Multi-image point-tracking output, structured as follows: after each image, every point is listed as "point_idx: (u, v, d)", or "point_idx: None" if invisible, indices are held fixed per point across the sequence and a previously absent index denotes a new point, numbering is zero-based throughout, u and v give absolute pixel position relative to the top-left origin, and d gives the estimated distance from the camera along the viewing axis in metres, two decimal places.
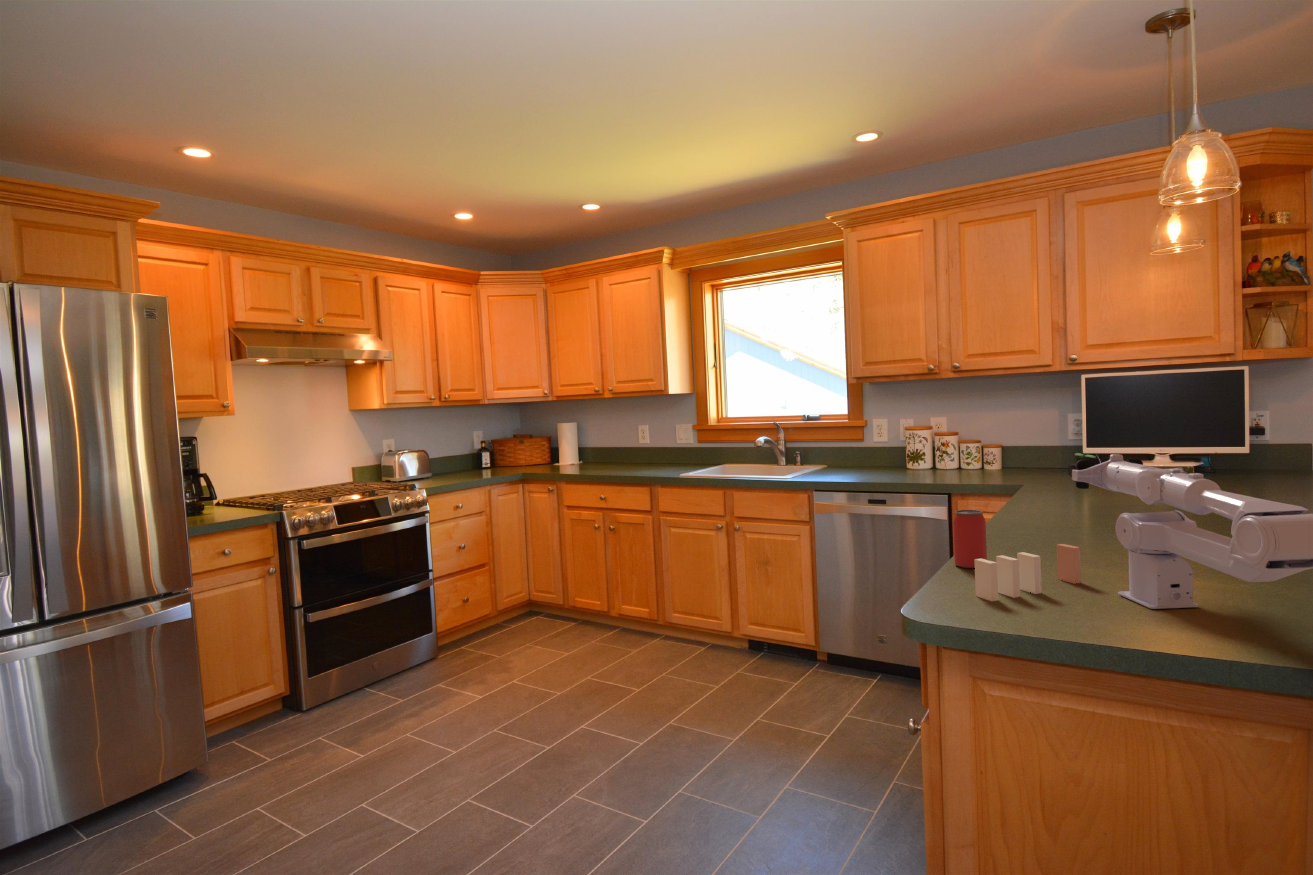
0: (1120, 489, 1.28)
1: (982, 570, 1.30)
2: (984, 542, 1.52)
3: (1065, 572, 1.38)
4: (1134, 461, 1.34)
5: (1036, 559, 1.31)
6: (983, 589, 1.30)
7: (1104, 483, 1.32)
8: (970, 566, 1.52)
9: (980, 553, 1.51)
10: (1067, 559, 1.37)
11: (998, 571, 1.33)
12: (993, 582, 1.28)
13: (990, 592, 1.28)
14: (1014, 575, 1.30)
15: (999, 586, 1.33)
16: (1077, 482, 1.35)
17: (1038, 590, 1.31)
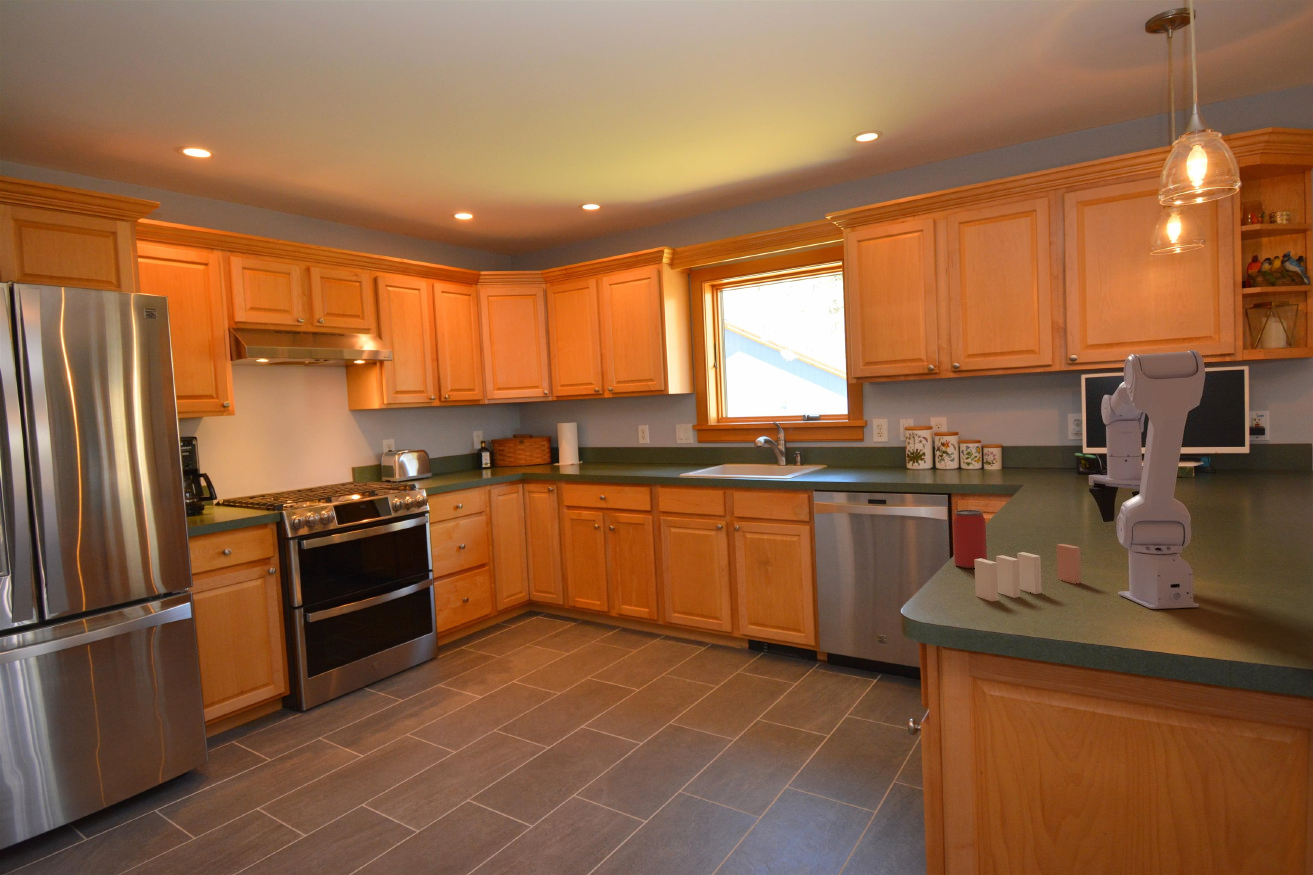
0: (1113, 454, 1.37)
1: (982, 570, 1.30)
2: (984, 542, 1.52)
3: (1065, 572, 1.38)
4: None
5: (1036, 559, 1.31)
6: (983, 589, 1.30)
7: None
8: (970, 566, 1.52)
9: (980, 553, 1.51)
10: (1067, 559, 1.37)
11: (998, 571, 1.33)
12: (993, 582, 1.28)
13: (990, 592, 1.28)
14: (1014, 575, 1.30)
15: (999, 586, 1.33)
16: (1092, 487, 1.44)
17: (1038, 590, 1.31)
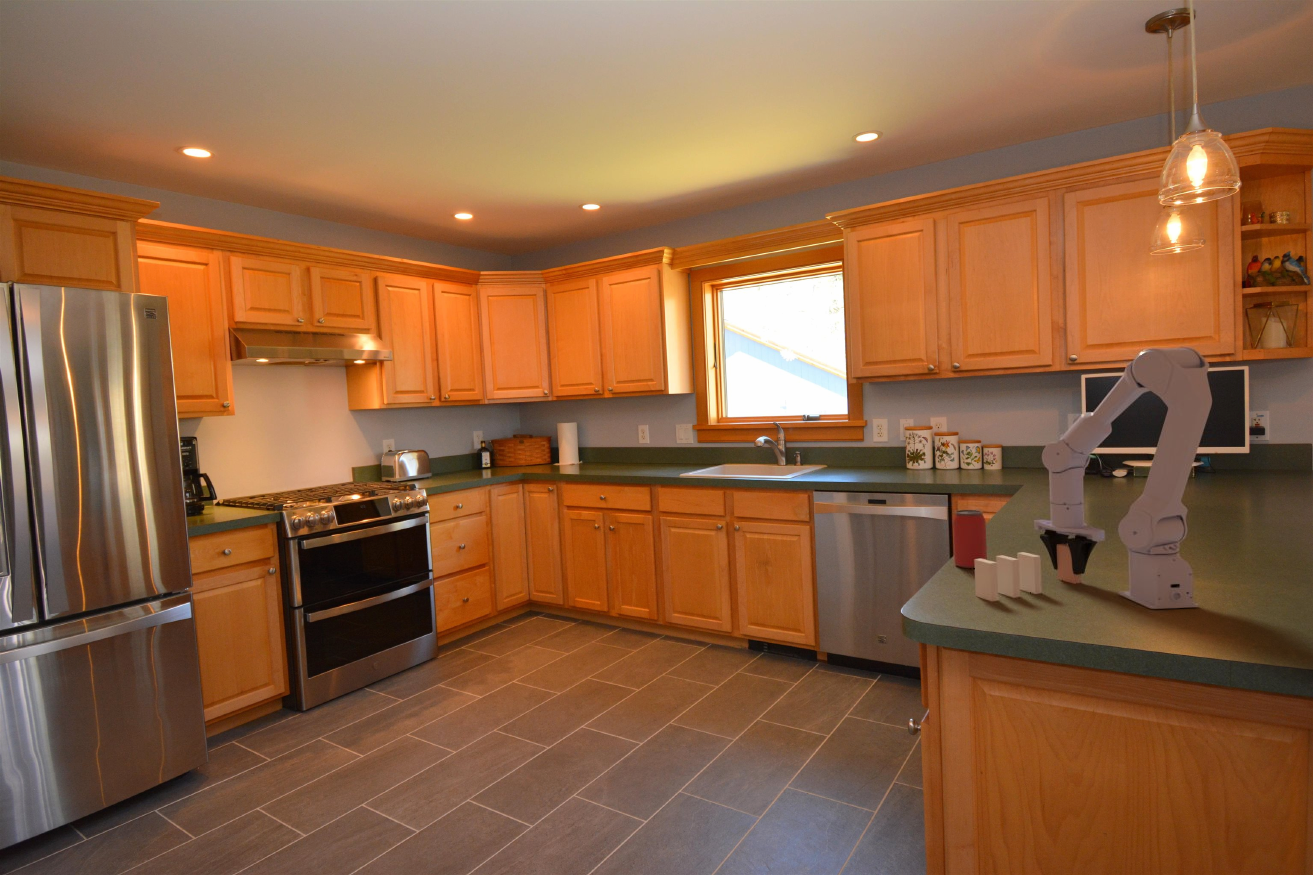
0: (1067, 502, 1.35)
1: (982, 570, 1.30)
2: (984, 542, 1.52)
3: (1065, 572, 1.38)
4: None
5: (1036, 559, 1.31)
6: (983, 589, 1.30)
7: None
8: (970, 566, 1.52)
9: (980, 553, 1.51)
10: (1067, 559, 1.37)
11: (998, 571, 1.33)
12: (993, 582, 1.28)
13: (990, 592, 1.28)
14: (1014, 575, 1.30)
15: (999, 586, 1.33)
16: (1043, 534, 1.42)
17: (1038, 590, 1.31)
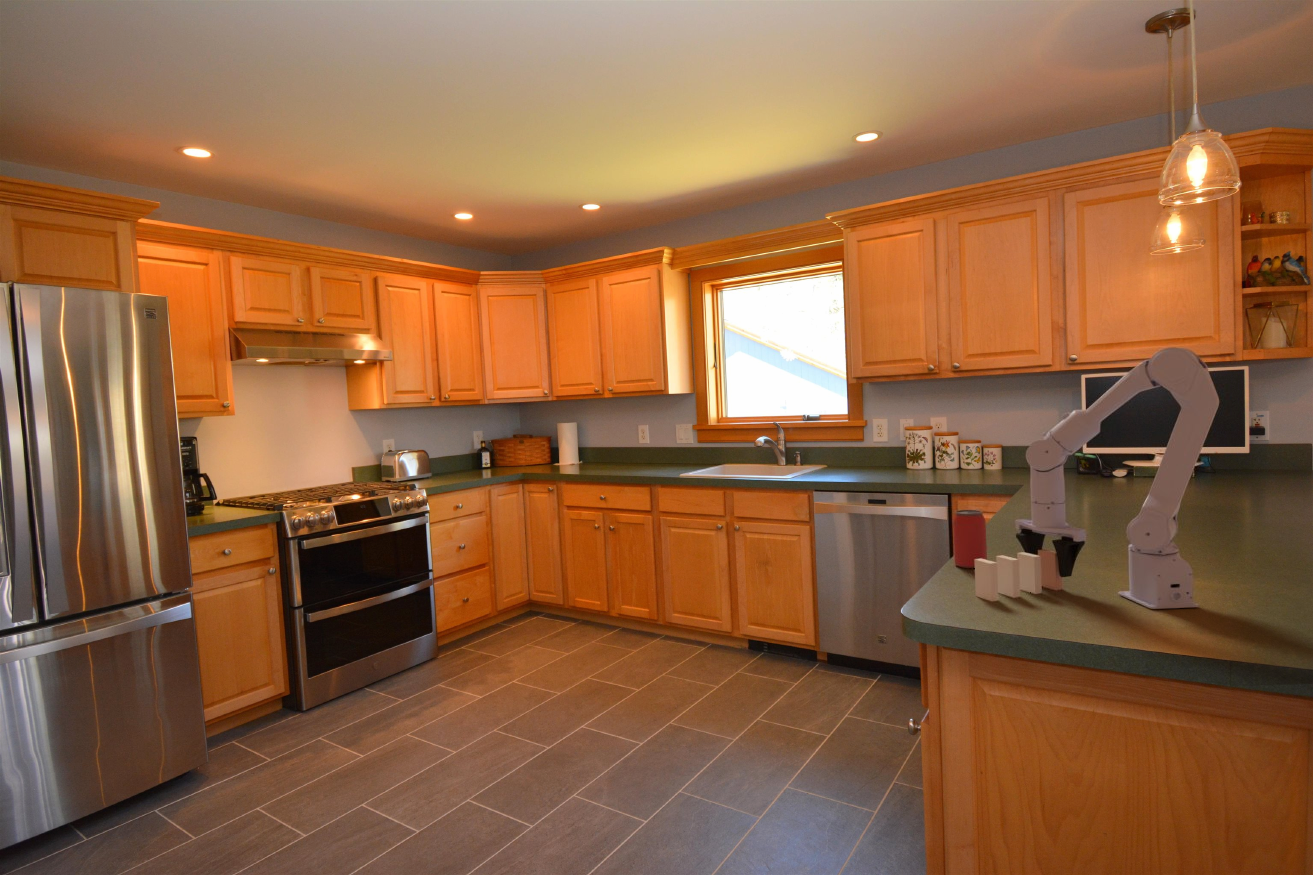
0: (1055, 501, 1.31)
1: (982, 570, 1.30)
2: (984, 542, 1.52)
3: (1046, 578, 1.35)
4: None
5: (1036, 559, 1.31)
6: (983, 589, 1.30)
7: None
8: (970, 566, 1.52)
9: (980, 553, 1.51)
10: (1048, 565, 1.34)
11: (998, 571, 1.33)
12: (993, 582, 1.28)
13: (990, 592, 1.28)
14: (1014, 575, 1.30)
15: (999, 586, 1.33)
16: (1019, 533, 1.39)
17: (1038, 590, 1.31)
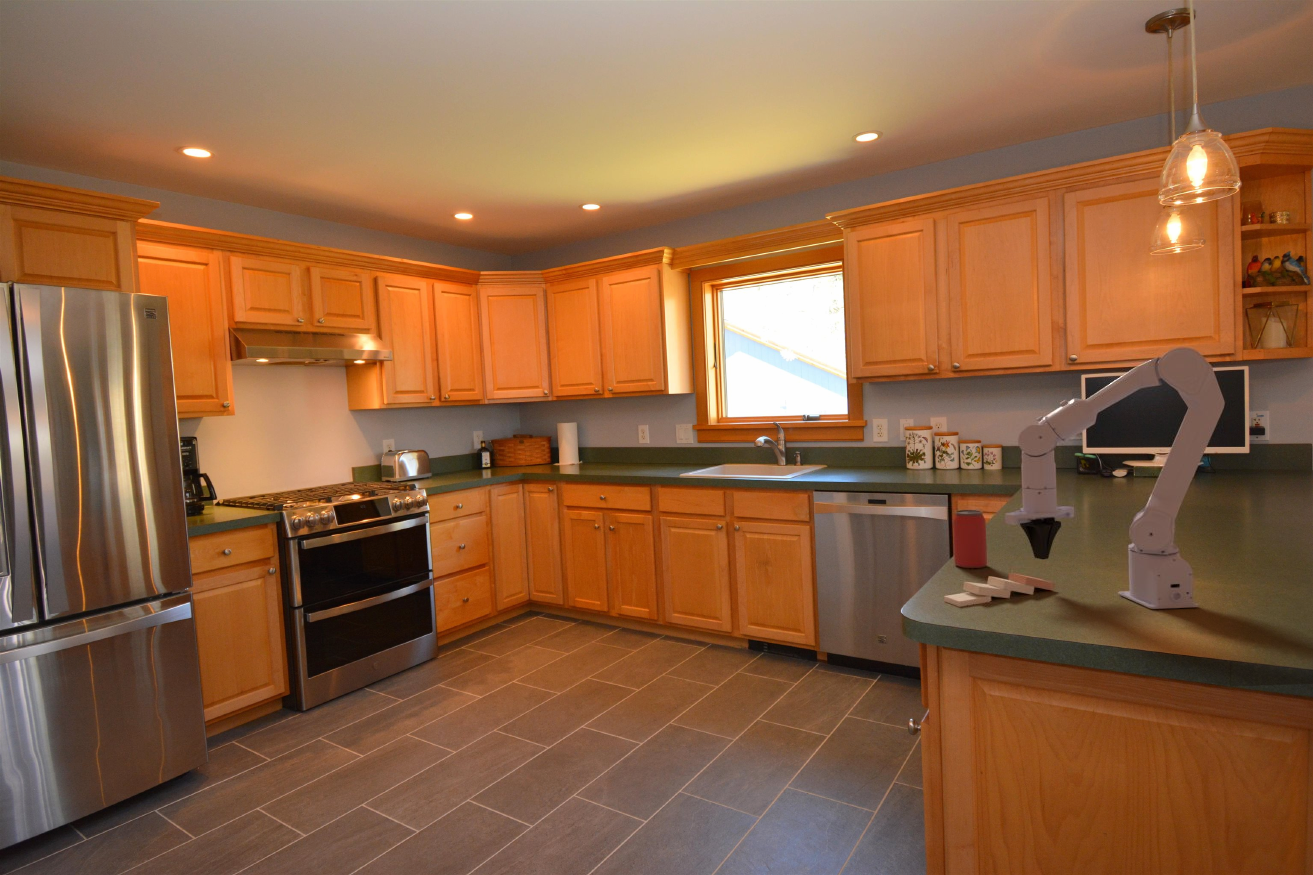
0: (1047, 486, 1.30)
1: None
2: (984, 542, 1.52)
3: None
4: None
5: (1006, 586, 1.29)
6: None
7: (1035, 510, 1.31)
8: (970, 566, 1.52)
9: (980, 553, 1.51)
10: None
11: None
12: (975, 603, 1.27)
13: None
14: (991, 593, 1.28)
15: None
16: (1036, 525, 1.31)
17: (1031, 590, 1.31)
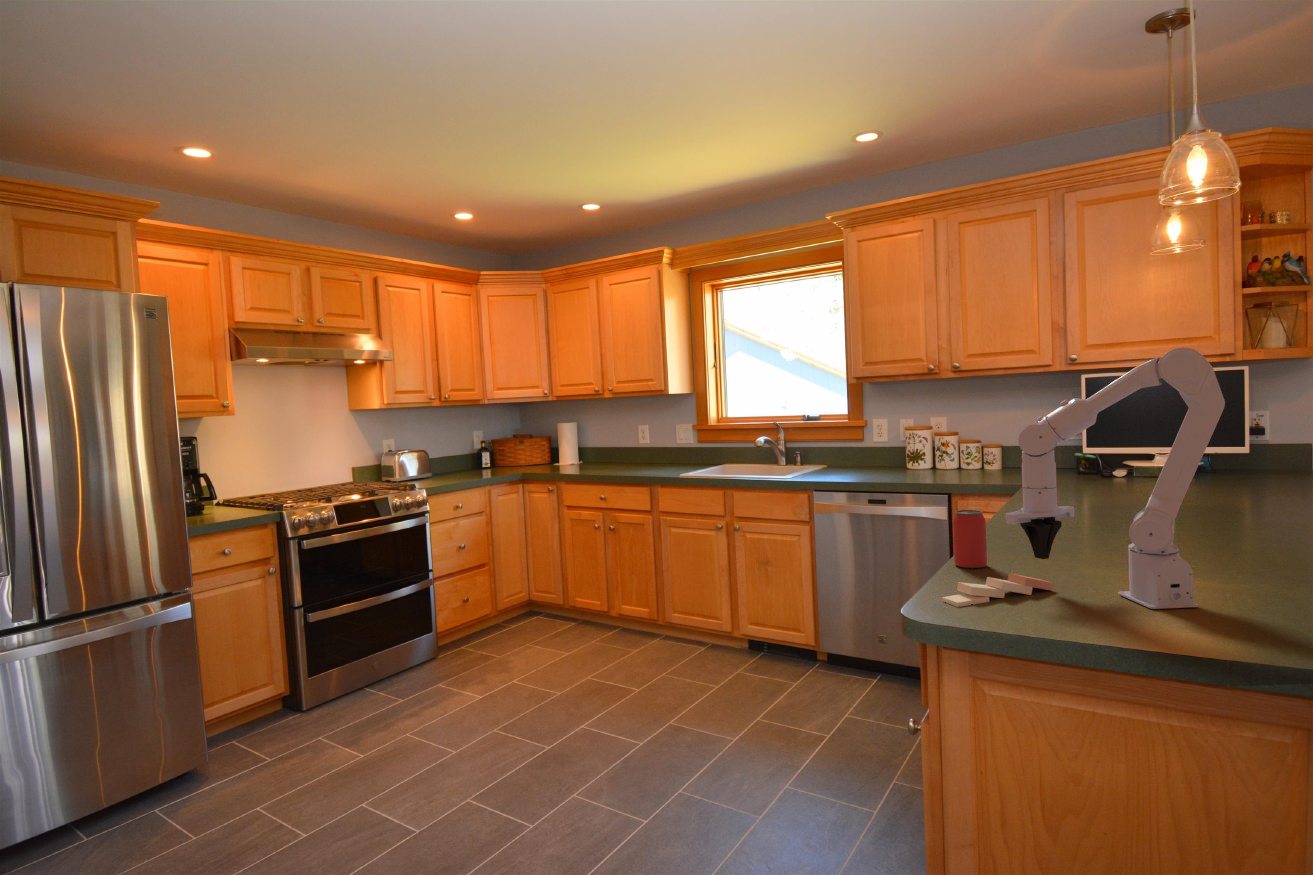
0: (1048, 486, 1.30)
1: None
2: (984, 542, 1.52)
3: None
4: None
5: (1004, 587, 1.29)
6: None
7: (1035, 509, 1.31)
8: (970, 566, 1.52)
9: (980, 553, 1.51)
10: None
11: None
12: None
13: None
14: (985, 593, 1.29)
15: None
16: (1037, 524, 1.31)
17: (1029, 590, 1.31)
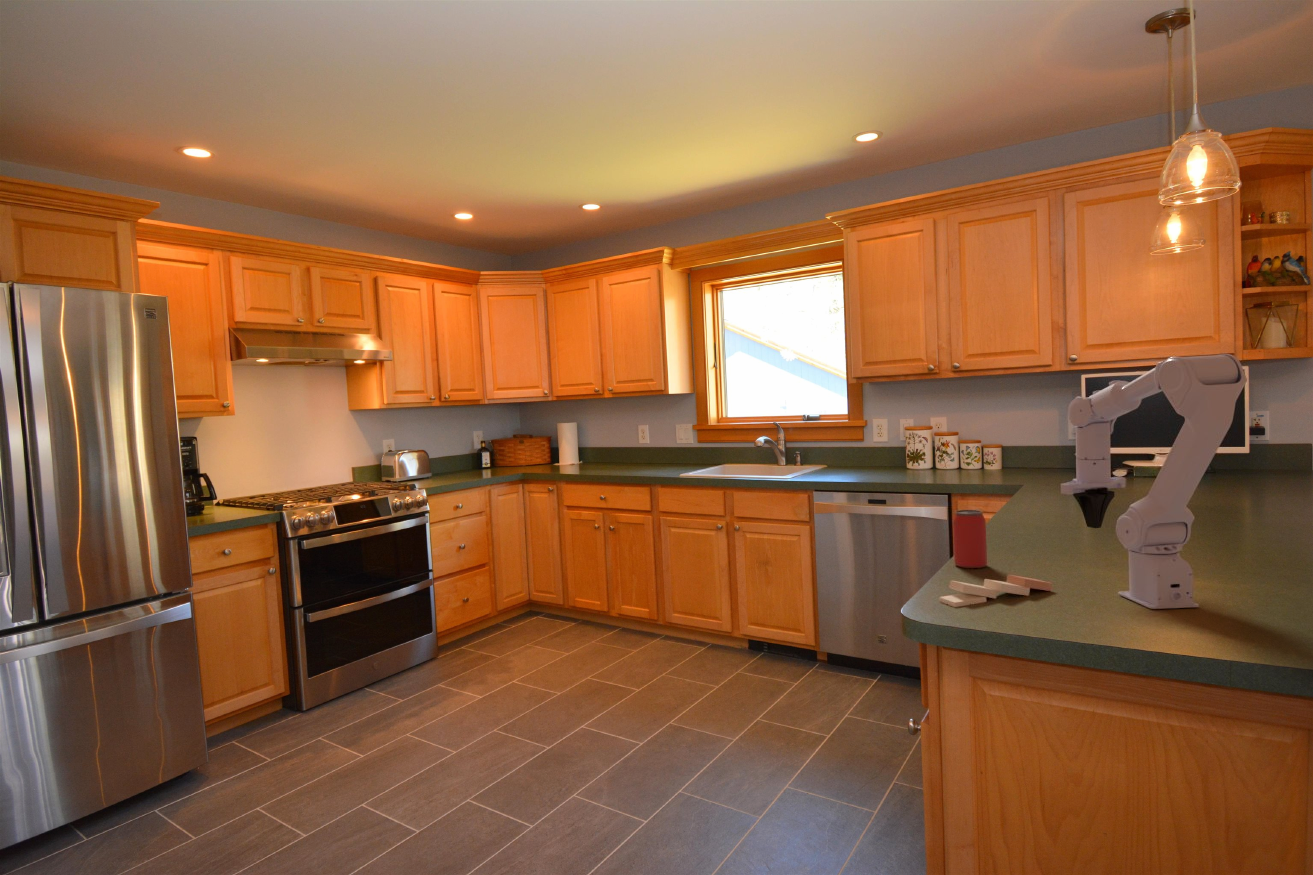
0: (1089, 457, 1.35)
1: None
2: (984, 542, 1.52)
3: None
4: None
5: (1003, 588, 1.28)
6: None
7: (1090, 480, 1.35)
8: (970, 566, 1.52)
9: (980, 553, 1.51)
10: None
11: None
12: None
13: None
14: (977, 592, 1.28)
15: None
16: (1091, 494, 1.35)
17: (1027, 591, 1.30)
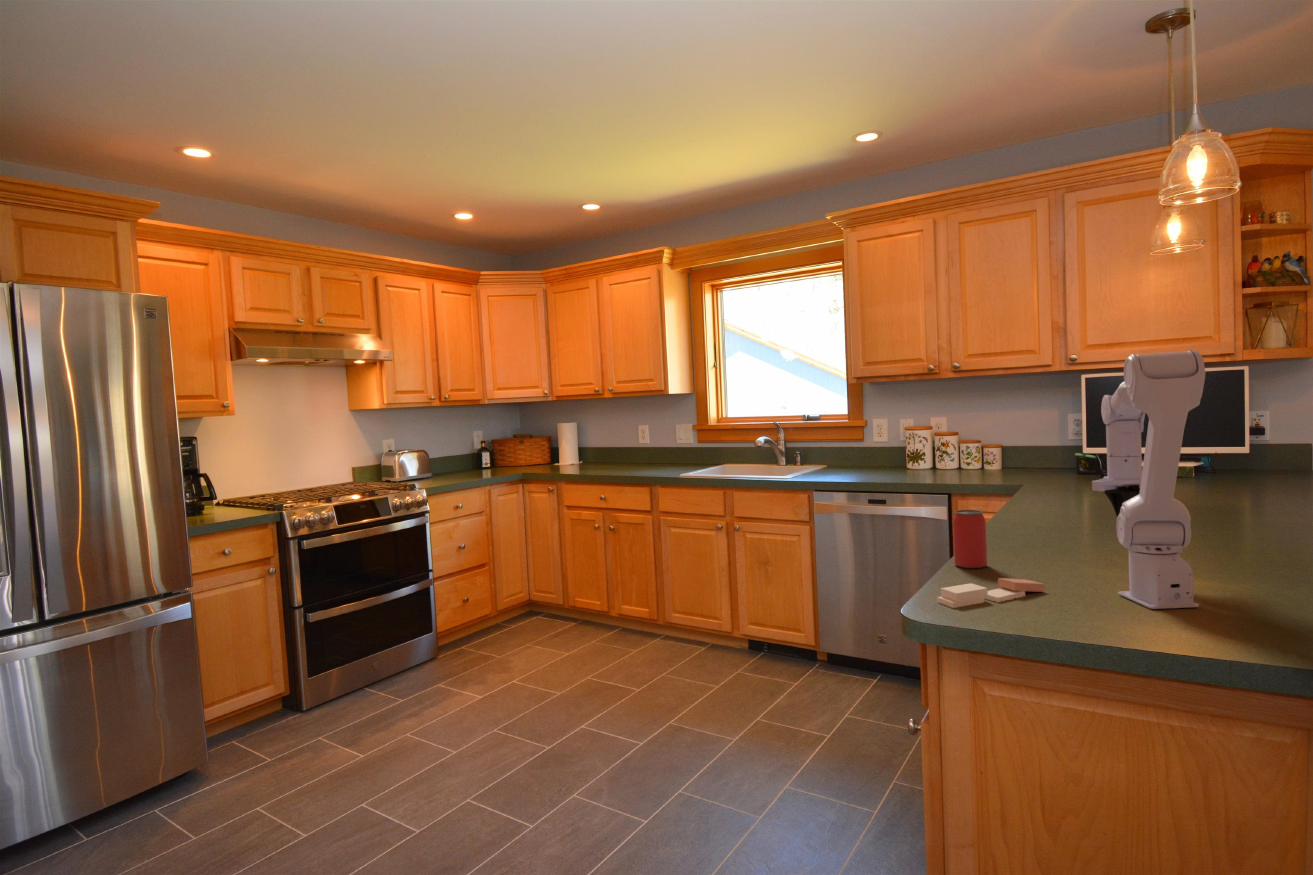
0: (1113, 454, 1.37)
1: None
2: (984, 542, 1.52)
3: None
4: None
5: None
6: None
7: (1121, 477, 1.36)
8: (970, 566, 1.52)
9: (980, 553, 1.51)
10: None
11: None
12: None
13: None
14: (969, 596, 1.27)
15: None
16: (1122, 491, 1.36)
17: (1023, 595, 1.30)
